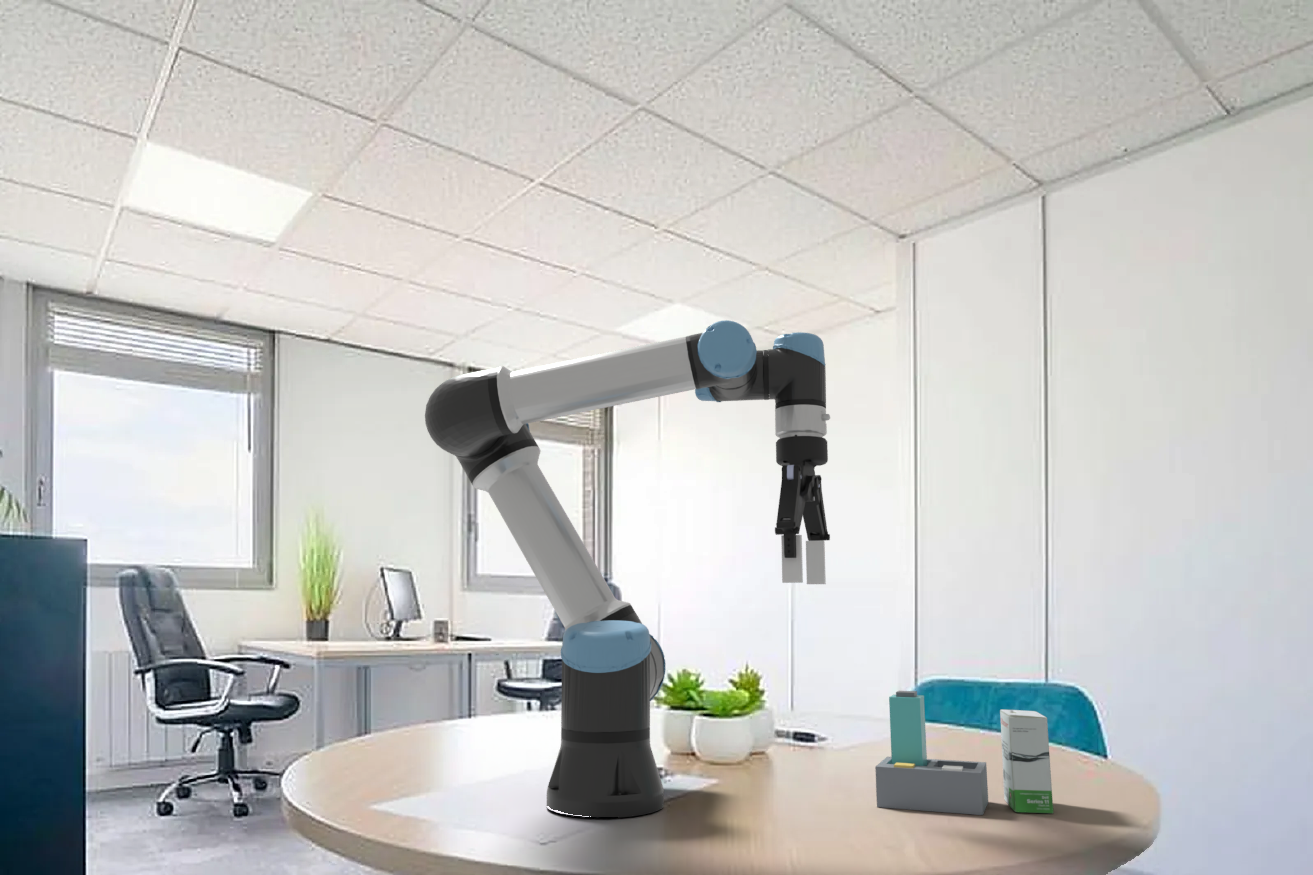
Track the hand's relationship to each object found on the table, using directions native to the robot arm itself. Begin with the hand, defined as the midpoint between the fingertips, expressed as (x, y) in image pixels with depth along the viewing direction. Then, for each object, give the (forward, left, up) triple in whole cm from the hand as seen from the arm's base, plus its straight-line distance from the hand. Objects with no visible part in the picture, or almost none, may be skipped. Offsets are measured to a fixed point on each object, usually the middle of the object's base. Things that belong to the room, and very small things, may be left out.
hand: (804, 583), depth 141 cm
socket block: (+17, -2, -29) cm, 33 cm away
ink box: (+28, +1, -29) cm, 41 cm away
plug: (+14, -2, -28) cm, 31 cm away
